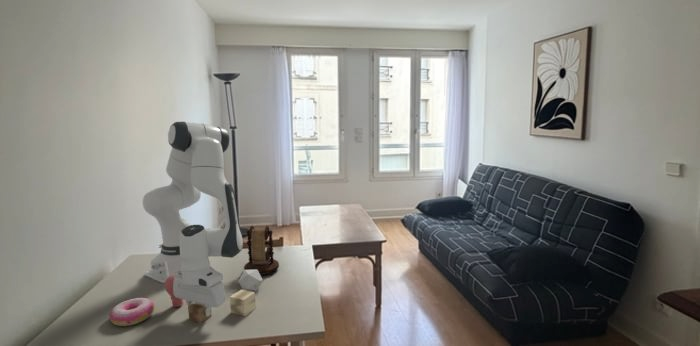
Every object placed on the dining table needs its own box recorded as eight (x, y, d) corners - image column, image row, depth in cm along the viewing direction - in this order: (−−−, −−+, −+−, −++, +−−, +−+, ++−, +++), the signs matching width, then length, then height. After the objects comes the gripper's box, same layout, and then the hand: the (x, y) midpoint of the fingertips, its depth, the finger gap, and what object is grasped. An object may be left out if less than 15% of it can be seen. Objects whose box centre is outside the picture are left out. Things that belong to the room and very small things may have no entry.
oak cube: (231, 312, 139) (229, 296, 138) (242, 305, 145) (241, 289, 144) (244, 316, 137) (243, 299, 136) (256, 308, 142) (254, 292, 141)
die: (250, 298, 151) (264, 275, 152) (231, 286, 152) (245, 264, 153) (255, 296, 159) (268, 274, 160) (237, 285, 160) (250, 263, 161)
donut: (144, 304, 147) (143, 291, 146) (162, 316, 139) (160, 302, 138) (104, 320, 137) (102, 306, 136) (120, 333, 128) (118, 318, 127)
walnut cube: (189, 320, 135) (187, 306, 134) (200, 313, 139) (199, 299, 139) (200, 323, 133) (199, 309, 132) (211, 316, 137) (210, 302, 136)
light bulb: (175, 313, 140) (171, 280, 138) (162, 308, 144) (159, 276, 142) (192, 304, 146) (189, 273, 144) (180, 299, 150) (177, 269, 148)
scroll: (239, 277, 169) (235, 231, 166) (251, 263, 183) (248, 220, 180) (273, 278, 167) (270, 231, 164) (283, 264, 182) (280, 221, 178)
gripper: (166, 273, 135) (170, 311, 138) (212, 283, 127) (216, 324, 129) (181, 266, 141) (185, 303, 143) (226, 275, 132) (229, 314, 134)
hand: (200, 313), depth 136 cm, fingers closed on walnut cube, 5 cm apart
